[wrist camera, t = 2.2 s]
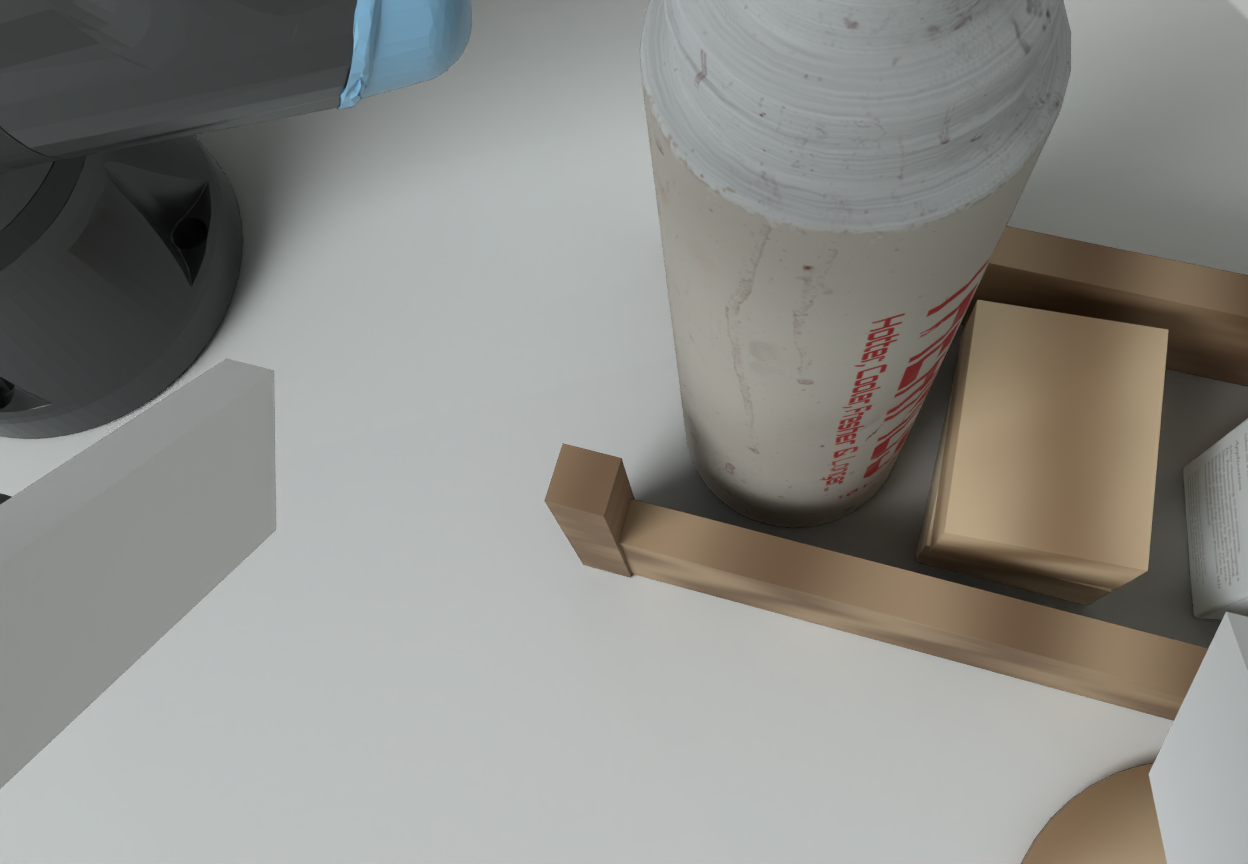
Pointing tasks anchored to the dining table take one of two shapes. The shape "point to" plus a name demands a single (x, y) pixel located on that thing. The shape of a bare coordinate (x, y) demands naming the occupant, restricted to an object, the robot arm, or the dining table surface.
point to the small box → (1219, 526)
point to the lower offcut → (993, 573)
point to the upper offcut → (1052, 445)
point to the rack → (919, 604)
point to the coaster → (1104, 825)
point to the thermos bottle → (832, 219)
